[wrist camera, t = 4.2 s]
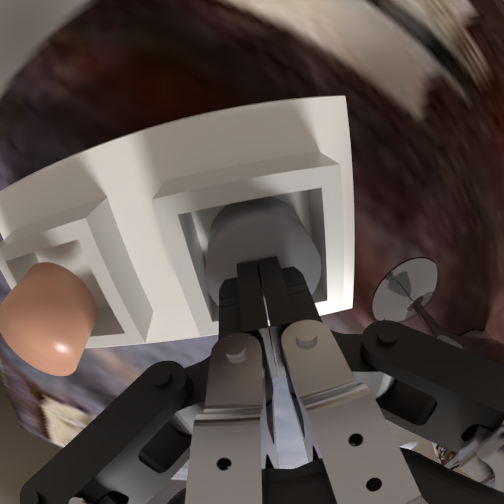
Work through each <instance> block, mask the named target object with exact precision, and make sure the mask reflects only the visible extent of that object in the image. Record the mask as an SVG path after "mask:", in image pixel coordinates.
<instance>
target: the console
mask: <svg viewBox="0 0 504 504" xmlns="http://www.w3.org/2000/svg"><path fill="white" fill-rule="evenodd" d="M268 196H271V197H274V198H277V199H279V200H281V201H283V202H285V203H286V204H288V205H289V206H290V207H291V208H292V209H293V210H294V211H295V212H296V214H297V215H298V217H299V219H300V220H301V222H302V224H303V226H304V227H305V229H306V231H307V233H308V234H309V236H310V238H311V240H312V242H313V243H314V245H315V247H316V249H317V251H318V253H319V256H320V260H321V276H320V280H319V283H318V285H317V288H316V290H315V291H314V293H313V294H312V298H313V300H314V303H315V305H316V308H317V311H318V313H319V316H320V315H324V314H329V313H333V312H337V311H341V310H346V309H350V308H352V303H353V283H354V192H353V172H352V156H351V144H350V133H349V123H348V114H347V105H346V97H345V96H314V97H303V98H293V99H284V100H276V101H269V102H262V103H256V104H249V105H243V106H238V107H232V108H227V109H222V110H217V111H212V112H208V113H203V114H199V115H194V116H190V117H186V118H182V119H178V120H174V121H171V122H167V123H163V124H160V125H156V126H153V127H149V128H146V129H143V130H140V131H136V132H133V133H130V134H127V135H124V136H121V137H118V138H115V139H112V140H110V141H107V142H104V143H101V144H99V145H96V146H93V147H91V148H88V149H86V150H83V151H81V152H78V153H76V154H73V155H71V156H69V157H66V158H64V159H62V160H60V161H57V162H55V163H53V164H51V165H48V166H46V167H44V168H42V169H40V170H38V171H36V172H34V173H32V174H30V175H28V176H26V177H24V178H22V179H20V180H18V181H17V182H15V183H13V184H11V185H10V186H8V187H6V188H4V189H3V190H1V191H0V232H1V235H2V237H3V239H4V240H3V241H2V242H1V243H0V269H1V271H2V273H3V275H4V277H5V279H6V281H7V282H8V284H9V286H10V288H11V290H12V289H13V288H14V287H15V286H16V284H17V283H18V282H19V281H20V280H21V278H22V277H23V276H24V275H25V274H26V272H27V271H28V270H29V269H30V268H31V267H32V266H33V265H35V264H37V263H41V262H50V263H55V264H58V265H60V266H63V267H64V268H66V269H68V270H69V271H71V272H72V273H74V274H75V275H76V276H77V277H78V278H79V279H80V280H81V281H82V282H83V283H84V284H85V285H86V286H87V288H88V289H89V290H90V292H91V294H92V296H93V298H94V300H95V303H96V306H97V313H98V315H97V320H96V323H95V325H94V327H93V330H92V332H91V334H90V337H89V339H88V341H87V343H86V346H85V348H97V347H111V346H124V345H135V344H146V343H155V342H164V341H173V340H181V339H189V338H197V337H204V336H211V335H217V334H219V306H218V305H217V304H216V303H215V302H214V300H213V299H212V298H211V296H210V294H209V292H208V290H207V287H206V283H205V266H206V257H207V249H208V240H209V232H210V228H211V225H212V223H213V221H214V219H215V217H216V216H217V215H218V213H219V212H220V211H221V210H222V209H223V208H224V207H225V206H227V205H228V204H231V203H236V202H241V201H246V200H252V199H257V198H263V197H268ZM268 325H269V326H270V322H269V320H268Z"/></svg>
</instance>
